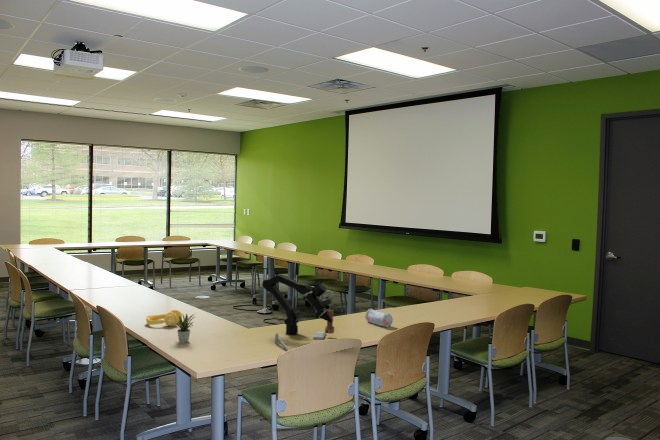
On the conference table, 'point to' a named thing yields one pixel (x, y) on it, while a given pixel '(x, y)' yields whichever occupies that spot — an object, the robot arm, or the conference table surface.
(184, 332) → the house plant
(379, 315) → the pencil case
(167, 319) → the headset
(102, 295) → the conference table surface
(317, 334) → the board
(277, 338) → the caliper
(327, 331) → the marking gauge
